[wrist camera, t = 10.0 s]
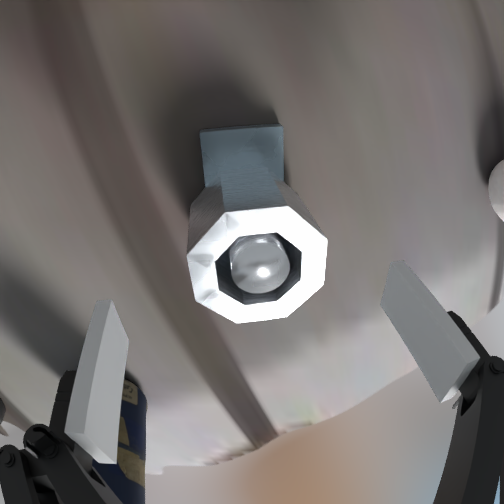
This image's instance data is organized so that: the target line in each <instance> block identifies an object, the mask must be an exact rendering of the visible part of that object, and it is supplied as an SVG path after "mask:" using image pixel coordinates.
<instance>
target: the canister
mask: <svg viewBox="0 0 504 504" xmlns="http://www.w3.org/2000/svg"><path fill="white" fill-rule="evenodd" d="M146 412H147V400H146V397H145V395H144V394H143V392H142V391H141V390H140V389H139V388H138V387H137V386H136V385H134V384H133V383H131V382H129V381H128V380H126V379H124V382H123V390H122V399H121V409H120V420H119V432H118V446H117V463H116V464H107V463H98V462H97V461H96V460H95V459H94V458H93V459H92V466H93V467H94V468H95V469H96V471H97V472H98V473H99V475H100V476H101V477H102V479H103V480H104V481H105V482H106V484H107V485H108V486H109V487H110V489H111V490H112V491H113V492H114V494H115V495H116V496H117V497H118V498H119V500H120V501H121V502H122V503H123V504H145V460H146Z"/></svg>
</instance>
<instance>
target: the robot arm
mask: <svg viewBox="0 0 504 504" xmlns="http://www.w3.org/2000/svg"><path fill="white" fill-rule="evenodd" d="M380 305H381V306H382V308H383V309H384V311H385V313H386V314H387V316H388V317H389V319H390V320H391V322H392V323H393V325H394V327H395V328H396V330H397V331H398V333H399V335H400V336H401V338H402V339H403V341H404V343H405V344H406V346H407V347H408V349H409V351H410V352H411V354H412V356H413V357H414V359H415V361H416V362H417V364H418V366H419V367H420V369H421V371H422V372H423V374H424V376H425V378H426V379H427V381H428V382H429V384H430V386H431V388H432V390H433V391H434V393H435V395H436V397H437V398H438V400H439V402H440V403H441V402H444V401H446V400H448V399H450V398H453V397H454V395H455V394H456V392H457V391H458V390H460V392H461V396H460V397H459V399H458V400H457V401H456V402H455V404H454V405H453V407H452V408H453V409H455V407H456V406H457V405H458V409H457V415H456V420H455V425H454V430H453V435H452V440H451V443H450V448H449V452H448V456H447V460H446V463H445V467H444V471H443V474H442V477H441V481H440V484H439V487H438V490H437V494H436V497H435V500H434V502H433V504H494V500H495V495H496V491H497V486H498V482H499V476H500V504H504V361H503V360H502V359H501V358H499V357H497V356H490V355H489V354H488V353H487V351H486V350H485V349H484V347H483V346H482V345H481V343H480V342H479V341H478V339H477V338H476V337H475V335H474V334H473V333H472V332H471V330H470V329H469V327H467V325H466V324H465V322H464V321H463V320H462V318H461V317H460V316H458V315H457V314H455V313H454V312H453V311H449V312H446V311H445V309H444V308H443V307H442V306H441V304H440V303H439V302H438V301H437V299H436V298H435V297H434V296H433V295H432V293H431V292H430V291H429V290H428V288H427V287H426V286H425V285H424V284H423V283H422V281H421V280H420V279H419V278H418V277H417V275H416V274H415V273H414V272H413V271H412V270H411V268H410V267H409V266H408V265H407V264H406V263H405V262H404V260H401V261H396V262H391V263H390V268H389V272H388V276H387V281H386V285H385V289H384V293H383V296H382V300H381V304H380ZM128 346H129V339H128V337H127V335H126V333H125V330H124V328H123V326H122V323H121V321H120V319H119V316H118V314H117V311H116V309H115V306H114V304H113V301H112V299H111V300H101V301H97V302H96V305H95V308H94V311H93V315H92V318H91V321H90V325H89V328H88V331H87V335H86V338H85V342H84V346H83V349H82V353H81V357H80V361H79V365H78V369H77V371H66V372H65V374H64V375H63V377H62V378H61V379H60V382H59V386H58V390H57V394H56V398H55V402H54V406H53V411H52V415H51V420H50V425H49V427H48V426H46V425H44V424H35V425H33V426H31V427H30V428H29V429H28V430H27V431H26V433H25V435H24V439H23V444H24V448H25V449H22V450H18V449H17V448H16V447H15V446H13V445H4V446H3V447H1V448H0V484H1V488H2V493H3V497H4V500H5V504H123V503H122V502H121V501H120V500H119V498H118V497H117V496H116V495H115V494H114V492H113V491H112V490H111V489H110V487H109V486H108V485H107V484H106V482H105V481H104V480H103V479H102V477H101V476H100V475H99V473H98V472H97V471H96V469H95V468H94V467H93V466H92V459H93V458H94V459H95V460H96V461H97V462H98V463H107V464H116V463H117V446H118V432H119V420H120V409H121V399H122V390H123V382H124V374H125V366H126V359H127V352H128ZM5 411H6V409H5V406H4V404H3V402H2V401H1V399H0V424H1V423H2V421H3V418H4V414H5Z"/></svg>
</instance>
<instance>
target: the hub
mask: <svg viewBox="0 0 504 504" xmlns="http://www.w3.org/2000/svg"><path fill="white" fill-rule="evenodd" d="M272 232H277V233H278V235H279V237H280V240H281V242H282V245H283V247H284V250H285V252H286V255H287V257H288V260H289V263H290V270H289V274H288V276H287V278H286V280H285V281H284V282H283V283H282V284H281V285H280V286H279V287H277V288H276V289H274V290H272V291H269V292H265V293H250V292H247V291H244V290H242V289H241V288H239V287H238V286H237V285H236V284H235V282H234V280H233V278H232V273H231V266H230V258H229V251H228V247H229V246H230V245H231V244H232V243H233V242H234V241H235V240H236V239H237V238H238V237H239V236H245V235H254V234H263V233H272ZM326 251H327V238H326V237H325V235H324V233H323V232H322V230H321V229H320V227H319V226H318V224H317V223H316V221H315V219H314V218H313V216H312V215H311V213H310V212H309V210H308V209H307V207H306V206H305V204H304V203H303V201H302V200H301V198H300V197H299V195H298V194H297V193H296V192H295V191H294V190H293V189H292V188H290V187H289V186H288V185H287V184H286V183H285V182H283V181H282V180H281V179H280V178H279V177H278V176H276V175H275V174H274V173H273V172H272V171H271V170H269V169H268V168H267V167H255V168H244V169H234V170H224V171H219V172H218V173H217V174H216V176H215V177H214V178H213V179H212V180H211V181H210V183H209V184H208V185H207V186H206V187H205V188H204V190H203V191H202V192H201V193H200V194H199V195H198V197H197V198H196V199H195V200H194V201H193V203H192V204H191V208H190V219H189V231H188V244H187V260H188V265H189V270H190V275H191V280H192V285H193V290H194V295H195V300H196V301H197V302H199V303H201V304H202V305H204V306H206V307H208V308H210V309H211V310H213V311H215V312H217V313H219V314H221V315H222V316H224V317H226V318H228V319H230V320H232V321H234V322H236V323H243V322H251V321H259V320H266V319H273V318H281V317H287V316H288V315H289V314H290V313H291V312H293V311H294V310H295V309H296V308H297V307H298V306H300V305H301V304H302V303H303V302H304V301H305V300H306V299H308V298H309V297H310V296H311V295H312V294H313V293H314V292H316V291H317V290H318V289H319V288H320V287H321V286H322V285H323V282H324V272H325V262H326Z"/></svg>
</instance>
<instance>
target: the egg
mask: <svg viewBox="0 0 504 504" xmlns="http://www.w3.org/2000/svg"><path fill="white" fill-rule="evenodd" d="M488 191H489V197H490V202H491V204H492V207H493V209H494V211H495V212H496V213H497V215H498V216H499V217H500V218H501V219H502V220H503V221H504V160H502V161H501V162H499V163H498V164H497V165H496V166H495V168H494V169H493V170H492V172H491V175H490V178H489V185H488Z"/></svg>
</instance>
